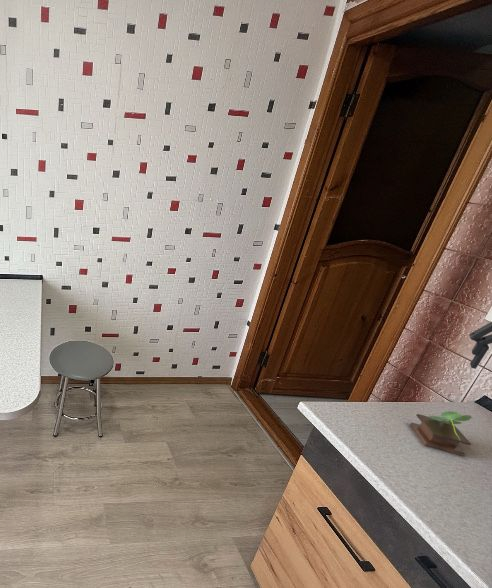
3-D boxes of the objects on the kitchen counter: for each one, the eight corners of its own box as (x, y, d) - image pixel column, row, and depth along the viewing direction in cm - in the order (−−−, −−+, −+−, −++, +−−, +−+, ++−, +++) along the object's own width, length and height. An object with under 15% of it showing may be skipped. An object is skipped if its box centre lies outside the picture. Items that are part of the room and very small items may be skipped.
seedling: (439, 444, 91) (432, 421, 95) (483, 446, 85) (474, 421, 89) (432, 435, 88) (425, 411, 92) (477, 436, 82) (467, 410, 86)
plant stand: (443, 434, 94) (452, 422, 93) (462, 456, 87) (471, 443, 86) (409, 425, 97) (416, 413, 95) (424, 445, 90) (432, 433, 88)
